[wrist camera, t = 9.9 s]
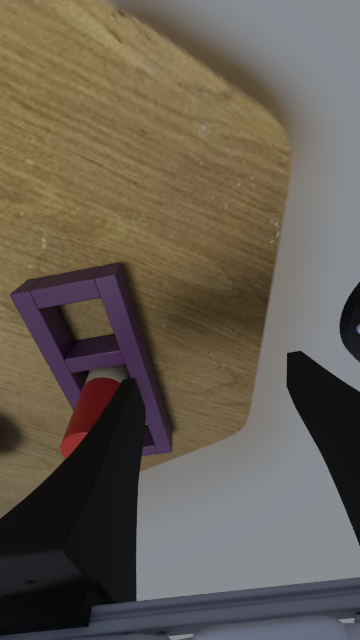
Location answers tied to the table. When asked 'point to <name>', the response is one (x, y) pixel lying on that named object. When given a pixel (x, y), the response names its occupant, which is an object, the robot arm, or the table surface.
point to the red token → (87, 411)
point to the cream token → (110, 373)
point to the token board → (94, 340)
